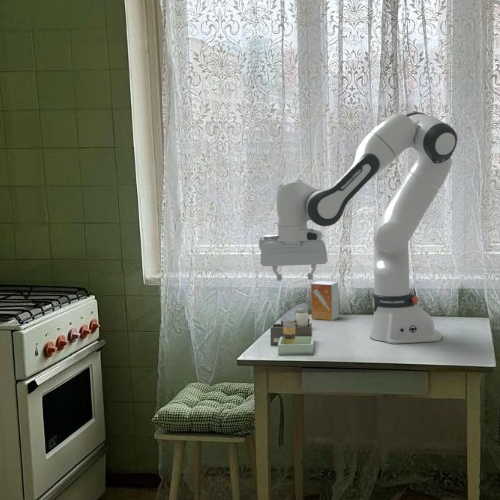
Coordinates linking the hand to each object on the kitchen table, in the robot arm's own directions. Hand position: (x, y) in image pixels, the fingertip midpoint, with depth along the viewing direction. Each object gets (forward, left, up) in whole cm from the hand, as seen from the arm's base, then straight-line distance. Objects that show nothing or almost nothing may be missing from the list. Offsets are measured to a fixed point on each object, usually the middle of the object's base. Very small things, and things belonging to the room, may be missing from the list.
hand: (294, 279), depth 252 cm
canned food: (+2, -31, -22) cm, 38 cm away
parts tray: (0, 0, -22) cm, 22 cm away
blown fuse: (+2, 0, -21) cm, 21 cm away
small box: (-8, -46, -22) cm, 52 cm away
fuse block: (+2, -10, -22) cm, 24 cm away
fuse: (-1, -10, -19) cm, 21 cm away
